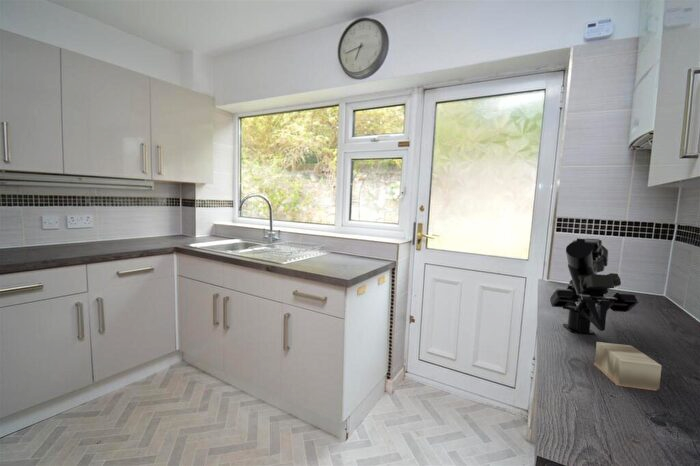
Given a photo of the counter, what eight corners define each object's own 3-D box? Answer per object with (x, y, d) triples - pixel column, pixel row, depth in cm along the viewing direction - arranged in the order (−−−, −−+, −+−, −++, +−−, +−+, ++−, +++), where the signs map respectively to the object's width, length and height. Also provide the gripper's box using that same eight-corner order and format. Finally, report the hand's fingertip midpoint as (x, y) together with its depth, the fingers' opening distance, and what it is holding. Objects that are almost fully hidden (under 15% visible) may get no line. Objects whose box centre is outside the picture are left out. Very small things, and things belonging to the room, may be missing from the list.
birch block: (596, 341, 76) (621, 360, 67) (631, 345, 75) (661, 365, 65) (594, 362, 77) (619, 384, 67) (629, 366, 75) (659, 389, 65)
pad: (593, 364, 76) (593, 362, 76) (628, 368, 75) (628, 367, 75) (616, 385, 67) (616, 384, 67) (656, 390, 65) (656, 389, 65)
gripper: (557, 259, 87) (573, 312, 77) (637, 263, 83) (665, 319, 73) (544, 281, 95) (557, 331, 85) (616, 285, 91) (638, 338, 82)
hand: (602, 330), depth 81 cm, fingers closed
